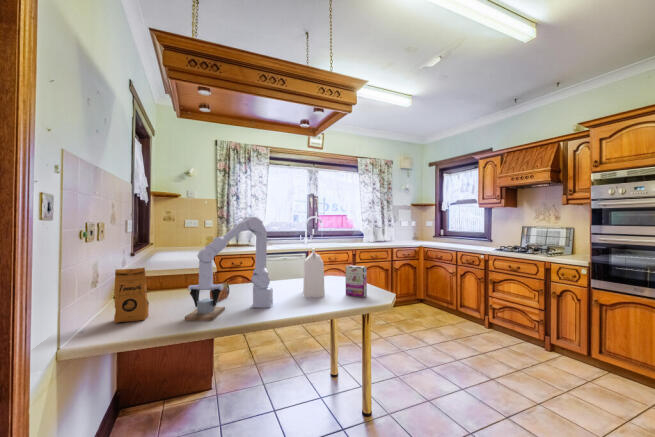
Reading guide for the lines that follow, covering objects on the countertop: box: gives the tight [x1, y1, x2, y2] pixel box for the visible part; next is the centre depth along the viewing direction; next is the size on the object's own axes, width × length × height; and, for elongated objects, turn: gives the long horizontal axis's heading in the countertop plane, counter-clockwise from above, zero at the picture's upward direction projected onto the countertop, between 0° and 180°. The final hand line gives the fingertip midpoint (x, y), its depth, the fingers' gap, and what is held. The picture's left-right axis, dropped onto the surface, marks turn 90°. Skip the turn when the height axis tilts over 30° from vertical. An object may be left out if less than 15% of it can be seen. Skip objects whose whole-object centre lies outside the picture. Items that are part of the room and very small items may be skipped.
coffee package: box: [113, 267, 150, 323], centre depth 122 cm, size 10×12×22 cm
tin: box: [209, 282, 230, 303], centre depth 152 cm, size 15×3×8 cm, turn 168°
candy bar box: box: [345, 264, 368, 298], centre depth 161 cm, size 11×5×16 cm, turn 61°
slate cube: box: [196, 298, 214, 314], centre depth 128 cm, size 5×5×5 cm
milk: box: [302, 247, 326, 298], centre depth 164 cm, size 12×12×26 cm
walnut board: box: [184, 306, 226, 322], centre depth 128 cm, size 12×14×2 cm
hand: (205, 306), depth 128 cm, fingers open, 7 cm apart
